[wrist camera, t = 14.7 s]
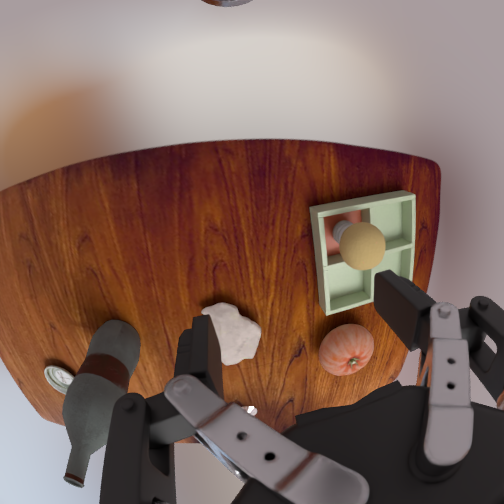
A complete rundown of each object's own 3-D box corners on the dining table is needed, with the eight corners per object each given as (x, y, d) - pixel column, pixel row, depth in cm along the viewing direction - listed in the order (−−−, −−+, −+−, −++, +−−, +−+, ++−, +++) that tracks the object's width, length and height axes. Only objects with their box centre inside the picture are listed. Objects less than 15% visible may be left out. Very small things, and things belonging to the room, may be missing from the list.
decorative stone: (191, 297, 43) (206, 358, 50) (186, 312, 40) (203, 373, 47) (259, 295, 43) (262, 357, 50) (259, 311, 39) (263, 373, 46)
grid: (309, 206, 40) (317, 212, 37) (402, 190, 41) (415, 194, 37) (319, 304, 47) (326, 315, 43) (401, 279, 47) (411, 288, 44)
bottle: (128, 362, 47) (95, 500, 19) (90, 336, 44) (34, 469, 16) (153, 337, 45) (121, 495, 18) (111, 307, 42) (44, 459, 14)
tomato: (307, 359, 51) (318, 387, 44) (321, 315, 48) (337, 342, 40) (353, 356, 53) (368, 381, 46) (370, 314, 49) (390, 338, 42)
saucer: (89, 389, 49) (87, 396, 47) (61, 388, 49) (58, 395, 46) (68, 359, 45) (65, 366, 43) (41, 360, 45) (37, 366, 43)
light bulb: (321, 251, 42) (348, 280, 33) (324, 210, 40) (354, 231, 30) (357, 248, 43) (389, 275, 33) (361, 210, 40) (397, 229, 31)
